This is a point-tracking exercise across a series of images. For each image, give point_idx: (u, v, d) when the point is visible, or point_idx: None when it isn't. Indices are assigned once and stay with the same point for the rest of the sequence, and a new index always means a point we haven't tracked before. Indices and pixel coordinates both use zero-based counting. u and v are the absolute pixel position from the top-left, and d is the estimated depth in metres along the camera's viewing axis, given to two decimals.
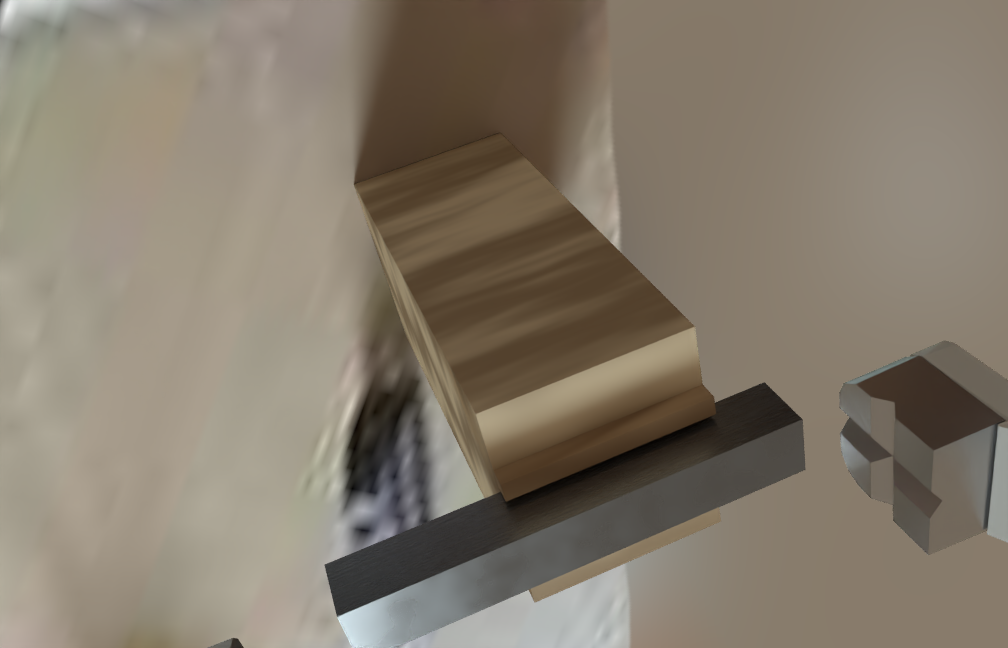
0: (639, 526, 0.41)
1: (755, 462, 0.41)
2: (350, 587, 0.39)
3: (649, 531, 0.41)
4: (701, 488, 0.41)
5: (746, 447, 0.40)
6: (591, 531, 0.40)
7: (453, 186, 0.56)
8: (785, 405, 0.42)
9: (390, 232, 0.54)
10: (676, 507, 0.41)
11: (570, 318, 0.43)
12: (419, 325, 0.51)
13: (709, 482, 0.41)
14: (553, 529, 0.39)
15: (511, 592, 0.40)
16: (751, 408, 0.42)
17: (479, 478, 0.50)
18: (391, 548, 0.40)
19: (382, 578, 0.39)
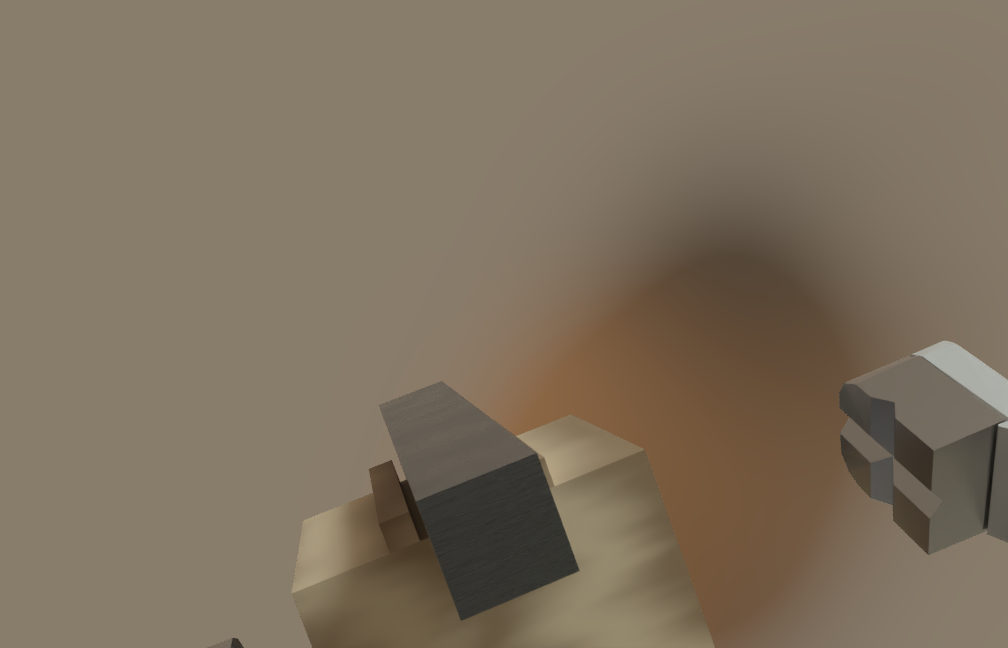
0: (442, 407, 0.35)
1: (410, 399, 0.40)
2: None
3: (454, 400, 0.35)
4: (418, 404, 0.38)
5: (386, 409, 0.40)
6: (425, 423, 0.33)
7: None
8: None
9: None
10: (432, 404, 0.37)
11: None
12: None
13: (414, 405, 0.38)
14: (399, 440, 0.31)
15: (482, 421, 0.29)
16: None
17: None
18: None
19: None
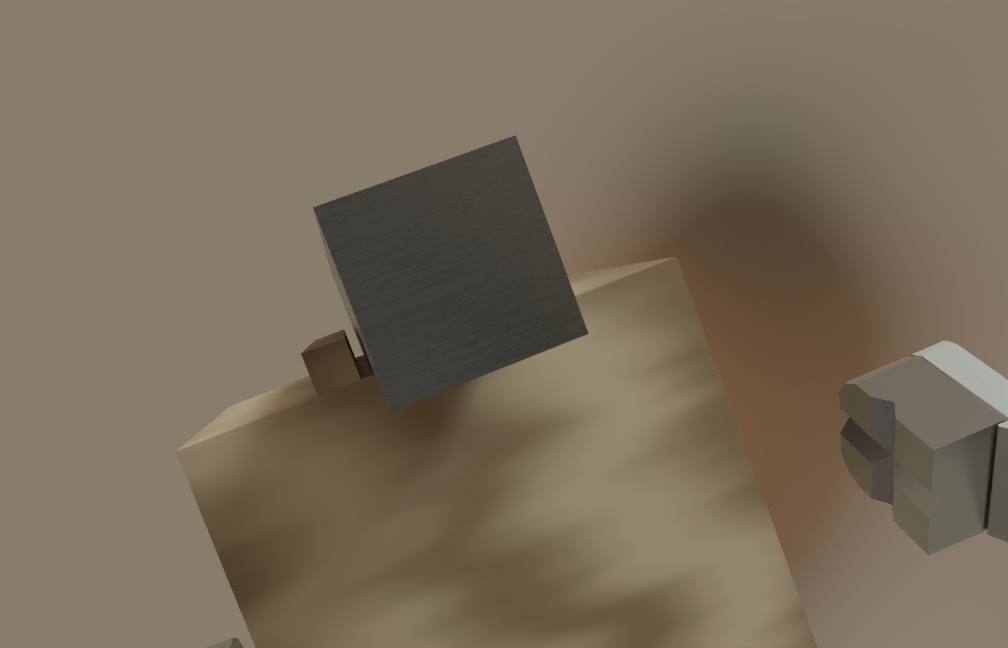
0: None
1: None
2: (344, 290, 0.14)
3: None
4: None
5: None
6: None
7: None
8: None
9: None
10: None
11: None
12: None
13: None
14: None
15: None
16: None
17: (696, 573, 0.22)
18: (369, 359, 0.16)
19: (339, 278, 0.15)
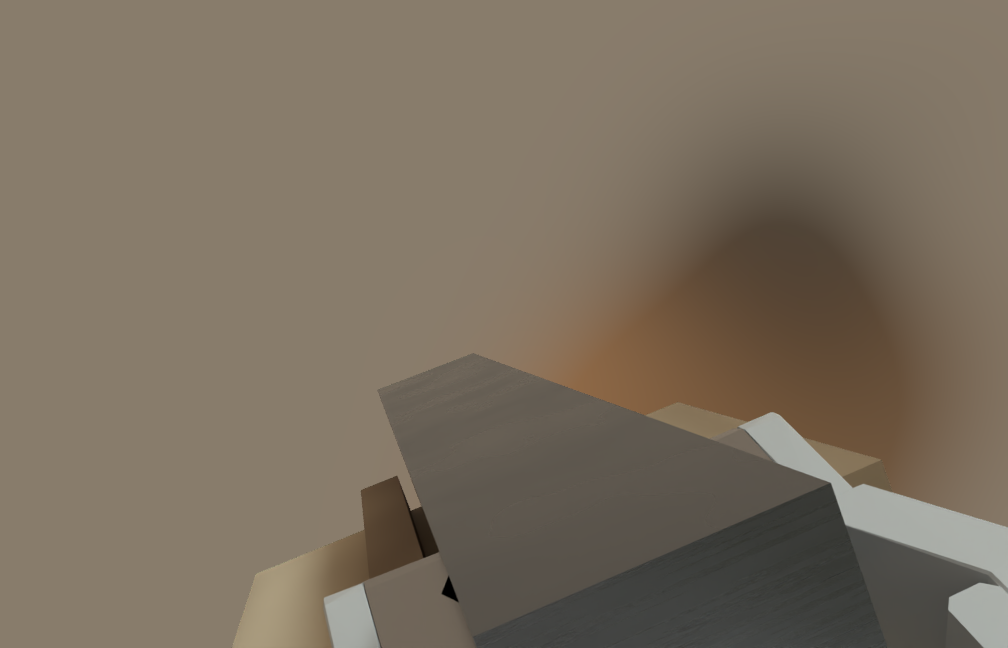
0: (485, 386, 0.20)
1: (426, 379, 0.26)
2: None
3: (505, 375, 0.20)
4: (441, 385, 0.23)
5: (389, 395, 0.25)
6: (458, 412, 0.18)
7: None
8: None
9: None
10: (465, 383, 0.22)
11: None
12: None
13: (433, 386, 0.23)
14: (412, 444, 0.16)
15: (582, 405, 0.14)
16: None
17: None
18: None
19: None
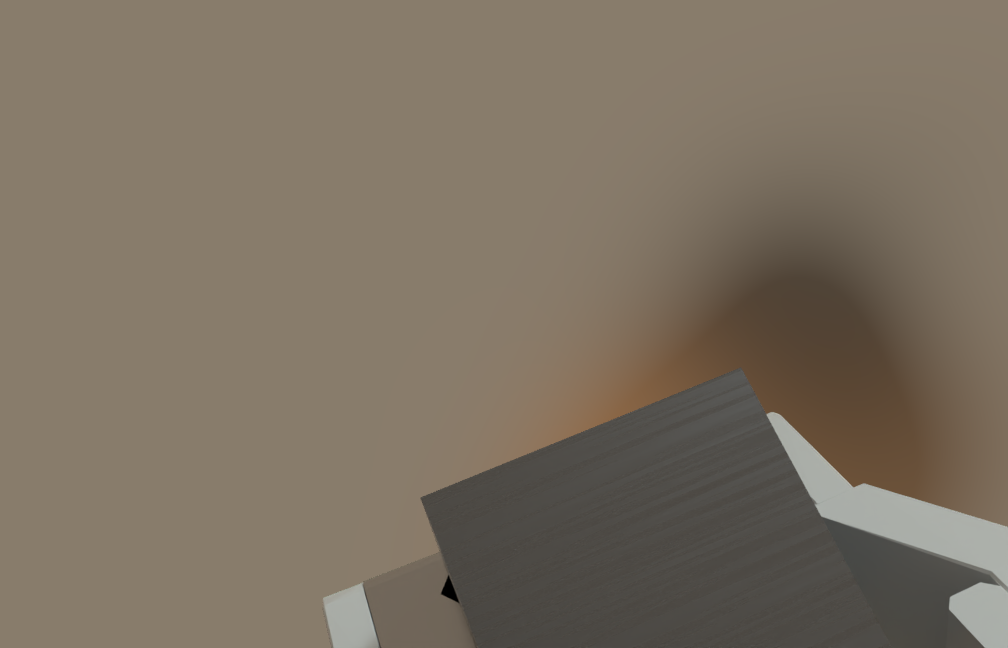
0: None
1: None
2: (476, 641, 0.08)
3: None
4: None
5: None
6: None
7: None
8: None
9: None
10: None
11: None
12: None
13: None
14: None
15: None
16: None
17: None
18: None
19: None
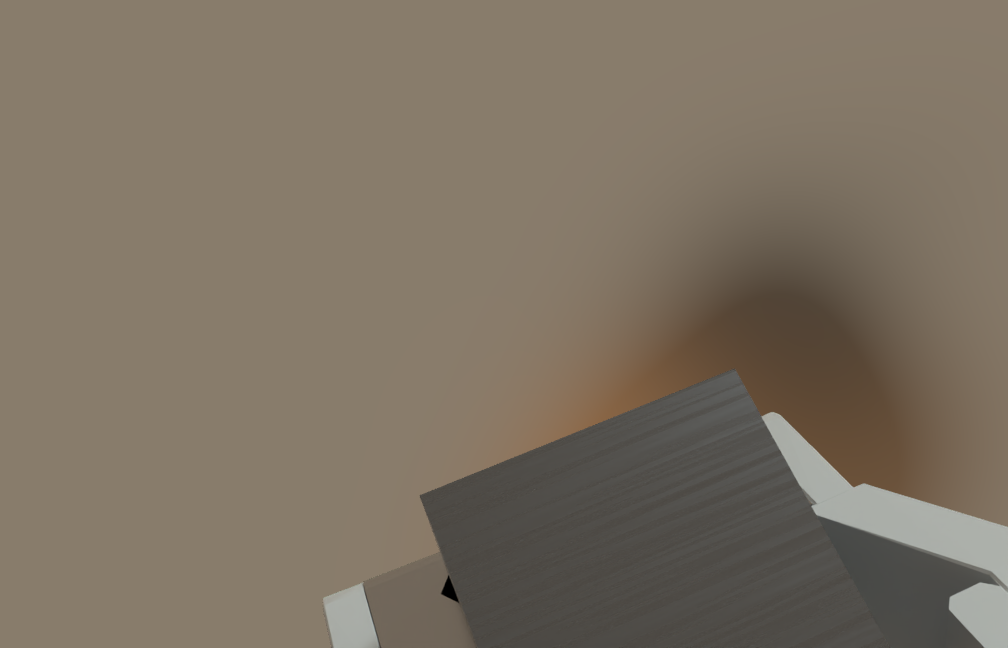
0: None
1: None
2: (475, 641, 0.08)
3: None
4: None
5: None
6: None
7: None
8: None
9: None
10: None
11: None
12: None
13: None
14: None
15: None
16: None
17: None
18: None
19: None
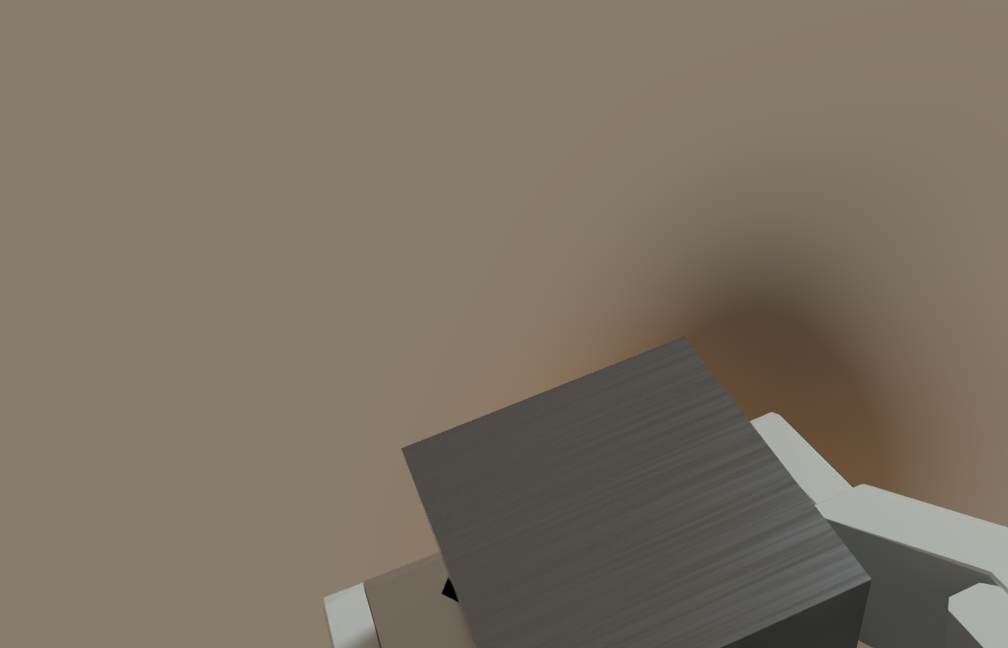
0: None
1: None
2: (457, 591, 0.09)
3: None
4: None
5: None
6: None
7: None
8: None
9: None
10: None
11: None
12: None
13: None
14: None
15: None
16: None
17: None
18: None
19: (473, 638, 0.10)
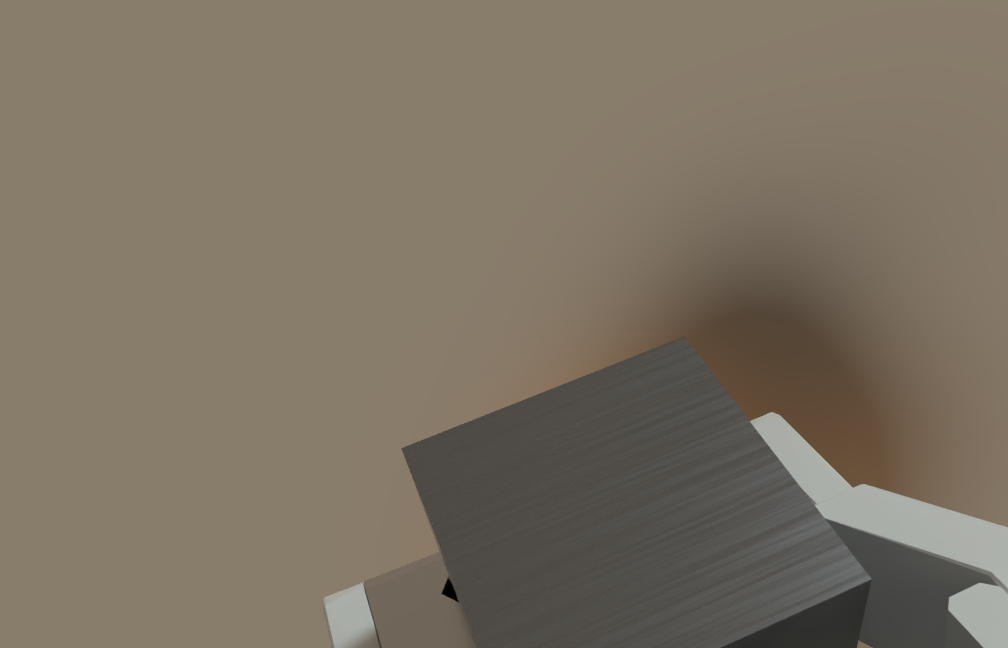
0: None
1: None
2: (457, 591, 0.09)
3: None
4: None
5: None
6: None
7: None
8: None
9: None
10: None
11: None
12: None
13: None
14: None
15: None
16: None
17: None
18: None
19: None
